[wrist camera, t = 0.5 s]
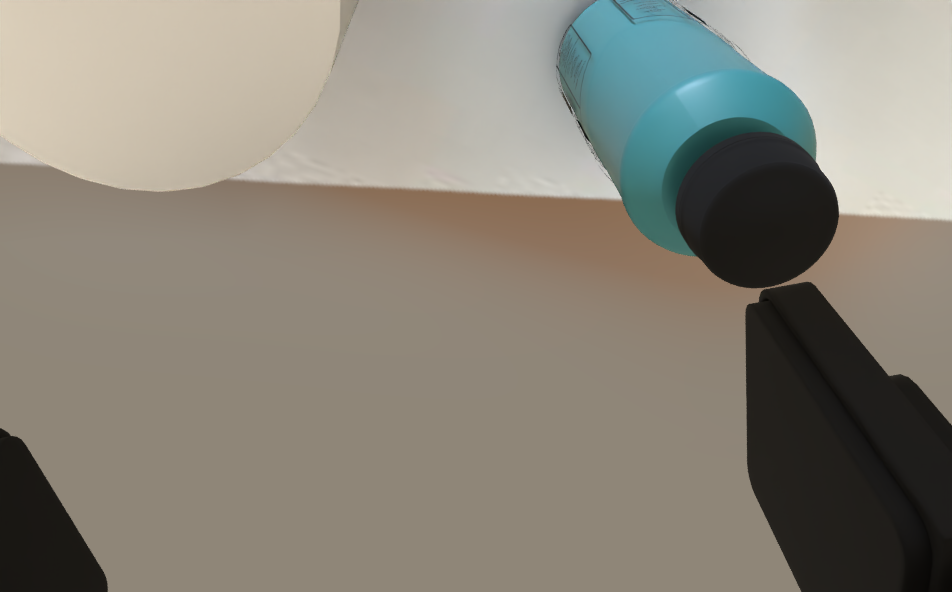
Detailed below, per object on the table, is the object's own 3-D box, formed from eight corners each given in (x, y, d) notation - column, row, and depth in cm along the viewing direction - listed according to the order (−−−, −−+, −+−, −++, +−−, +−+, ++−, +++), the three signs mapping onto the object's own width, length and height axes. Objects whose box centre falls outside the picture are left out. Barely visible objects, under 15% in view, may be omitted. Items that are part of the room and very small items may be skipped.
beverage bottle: (523, 70, 39) (597, 270, 22) (609, -54, 37) (768, 63, 20) (627, 141, 41) (769, 373, 24) (716, 28, 39) (945, 199, 22)
